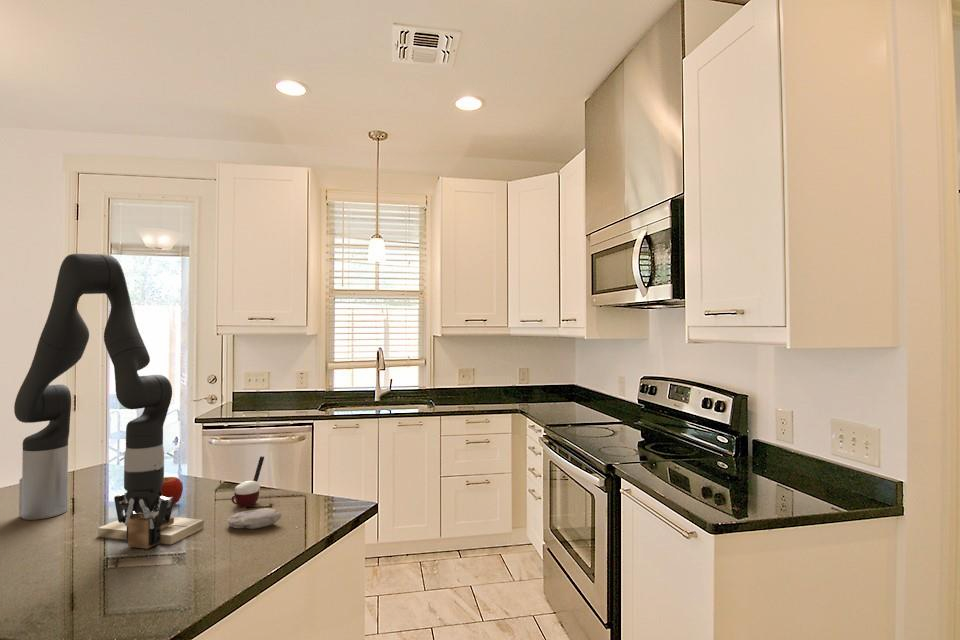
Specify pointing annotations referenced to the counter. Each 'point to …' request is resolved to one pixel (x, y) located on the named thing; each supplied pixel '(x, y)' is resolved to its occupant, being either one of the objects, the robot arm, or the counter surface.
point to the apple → (172, 488)
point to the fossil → (254, 518)
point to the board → (168, 534)
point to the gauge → (141, 531)
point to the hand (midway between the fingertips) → (143, 542)
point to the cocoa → (248, 489)
